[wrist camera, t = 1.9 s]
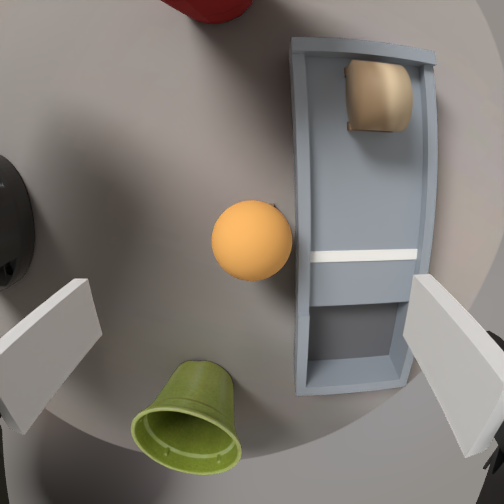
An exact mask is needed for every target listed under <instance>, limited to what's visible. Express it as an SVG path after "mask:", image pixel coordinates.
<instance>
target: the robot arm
mask: <svg viewBox="0 0 504 504" xmlns="http://www.w3.org/2000/svg"><path fill="white" fill-rule="evenodd" d="M33 248H34V222H33V215H32V209H31V205H30V201H29V198H28V194H27V192H26V189H25V186H24V184H23V182H22V180H21V178H20V176H19V174H18V173H17V171H16V169H15V168H14V167H13V165H12V164H11V163H10V162H9V161H8V160H7V159H6V158H4V157H3V156H1V155H0V291H1V290H4V289H6V288H8V287H9V286H11V285H12V284H14V283H15V282H17V281H18V280H20V279H21V278H22V277H23V276H24V274H25V273H26V271H27V269H28V267H29V265H30V262H31V259H32V255H33ZM101 336H102V331H101V327H100V324H99V320H98V316H97V313H96V309H95V305H94V301H93V297H92V293H91V289H90V285H89V281H88V279H73V280H72V281H71V282H69V283H68V284H67V285H65V286H64V287H63V288H61V289H60V290H59V291H58V292H56V293H55V294H54V295H52V296H51V297H50V298H49V299H47V300H46V301H45V302H44V303H42V304H41V305H40V306H39V307H37V308H36V309H35V310H34V311H32V312H31V313H30V314H29V315H28V316H26V317H25V318H24V319H23V320H21V321H20V322H19V323H18V324H17V325H16V326H14V327H13V328H12V329H11V330H10V331H8V332H7V333H6V334H5V335H4V336H3V337H2V338H0V418H1V416H2V417H3V419H4V421H5V422H6V423H7V425H8V427H9V428H10V429H12V430H14V431H16V432H18V433H20V434H23V435H25V433H26V432H27V431H28V429H29V428H30V427H31V425H32V424H33V422H34V421H35V420H36V418H37V417H38V416H39V414H40V413H41V412H42V410H43V409H44V408H45V406H46V405H47V404H48V402H49V401H50V400H51V398H52V397H53V396H54V394H55V393H56V392H57V391H58V389H59V388H60V387H61V385H62V384H63V383H64V382H65V380H66V379H67V378H68V376H69V375H70V374H71V373H72V371H73V370H74V369H75V368H76V366H77V365H78V364H79V363H80V361H81V360H82V359H83V358H84V356H85V355H86V354H87V353H88V351H89V350H90V349H91V348H92V347H93V345H94V344H95V343H96V342H97V341H98V339H99V338H100V337H101ZM403 337H404V339H405V340H406V342H407V344H408V346H409V348H410V349H411V351H412V353H413V355H414V357H415V358H416V360H417V362H418V364H419V366H420V368H421V369H422V371H423V373H424V375H425V377H426V379H427V381H428V382H429V385H430V387H431V388H432V390H433V392H434V394H435V396H436V398H437V400H438V402H439V404H440V406H441V408H442V410H443V412H444V414H445V416H446V418H447V420H448V423H449V425H450V426H451V429H452V431H453V433H454V435H455V437H456V439H457V442H458V444H459V446H460V448H461V451H462V453H463V455H464V457H465V458H466V457H469V456H472V455H475V454H478V453H481V452H484V451H485V450H486V449H487V448H488V446H489V444H490V443H491V441H492V440H493V438H495V440H496V441H497V443H498V447H497V448H496V450H495V451H494V452H493V454H492V456H491V457H490V458H489V459H488V461H487V462H486V464H485V465H484V467H483V469H486V468H487V467H488V465H489V464H490V467H489V470H488V473H487V476H486V478H485V482H484V484H483V487H482V490H481V492H480V495H479V497H478V500H477V502H476V504H504V341H503V340H502V339H501V338H500V337H499V336H497V335H495V334H494V333H492V332H490V331H485V330H484V329H483V328H482V327H481V326H480V324H479V323H478V322H477V321H476V320H475V319H474V318H473V317H472V316H471V315H470V314H469V313H468V312H467V311H466V310H465V309H464V307H463V306H462V305H461V304H460V303H459V302H458V301H457V300H456V299H455V298H454V297H453V296H452V295H451V294H450V293H449V292H448V291H447V290H446V289H445V288H444V287H443V286H442V285H441V284H440V283H439V282H438V281H437V280H436V279H435V278H434V277H433V276H432V275H431V274H419V275H413V280H412V287H411V293H410V299H409V305H408V311H407V316H406V321H405V326H404V331H403ZM0 504H9V499H8V493H7V486H6V478H5V468H4V457H3V443H2V429H1V425H0Z"/></svg>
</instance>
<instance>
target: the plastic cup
mask: <svg viewBox="0 0 504 504" xmlns="http://www.w3.org/2000/svg"><path fill="white" fill-rule="evenodd" d="M161 1H163V2H164V3H166V4H168V5H169V6H171V7H173V8H174V9H176V10H178V11H180V12H181V13H183V14H186V15H187V16H189V17H191V18H192V19H194V20H196V21H199V22H205V23H211V24H216V23H222V22H228V21H230V20H232V19H234V18H236V17H239V16H240V15H241V14H242V13H243V12H244V11H245V10H247V9H248V8H249V7H250V5H251V4H252V1H253V0H161Z"/></svg>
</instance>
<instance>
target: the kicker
mask: <svg viewBox="0 0 504 504" xmlns="http://www.w3.org/2000/svg"><path fill="white" fill-rule="evenodd" d="M344 77H346V107H347V114H348V119H349V122H347V131H367V132H384V133H393V132H403V131H404V130H405V129H406V128H407V126H408V124H409V121H410V118H411V114H412V107H413V92H412V85H411V80H410V77H409V75H408V73H407V71H406V69H405V68H404V67H403V66H401V65H396V64H388V63H379V62H370V61H359V60H352V61H351V62H350V64H349V66H346V67H345V68H344Z"/></svg>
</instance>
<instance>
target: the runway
mask: <svg viewBox="0 0 504 504" xmlns="http://www.w3.org/2000/svg"><path fill="white" fill-rule="evenodd" d="M352 60H359V61H370V62H379V63H388V64H396V65H401V66H403V67H404V68H405V69H406V71H407V73H408V75H409V77H410V80H411V85H412V92H413V107H412V114H411V118H410V121H409V124H408V126H407V128H406V129H405V130H404V131H403V132H393V133H384V132H367V131H347V122H349V119H348V114H347V107H346V77H344V68H345V67H346V66H349V64H350V62H351V61H352ZM435 65H437V62H436V54H435V52H434V51H430V50H425V49H420V48H414V47H409V46H403V45H396V44H390V43H382V42H374V41H366V40H355V39H343V38H326V37H291V42H290V48H289V66H290V82H291V100H292V121H293V145H294V177H295V234H296V289H295V347H294V377H295V394H296V396H311V395H329V394H342V393H354V392H364V391H374V390H382V389H390V388H398V387H405V386H406V383H407V380H408V376H409V373H410V369H411V366H412V362H413V359H414V355H413V353H412V351H411V349H410V348H409V346H408V344H407V342H406V340H405V339H404V337H403V331H404V326H405V321H406V316H407V311H408V305H409V299H410V293H411V287H412V280H413V275H419V274H428V270H429V263H430V256H431V248H432V239H433V230H434V219H435V207H436V191H437V162H438V136H437V108H436V92H435V80H434V70H433V66H435Z"/></svg>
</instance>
